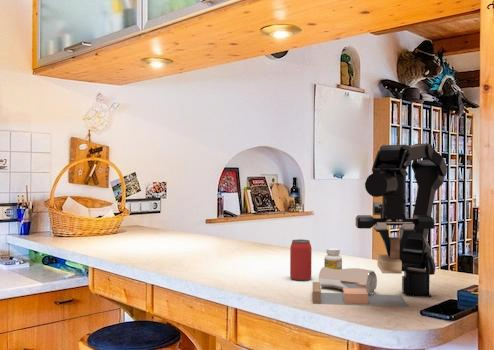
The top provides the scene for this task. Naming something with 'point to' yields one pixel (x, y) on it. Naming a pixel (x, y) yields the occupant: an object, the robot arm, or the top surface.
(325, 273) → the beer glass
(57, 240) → the top surface
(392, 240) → the two-tone stepped block
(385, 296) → the slate board
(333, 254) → the supplement bottle
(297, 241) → the beer can
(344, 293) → the tile
